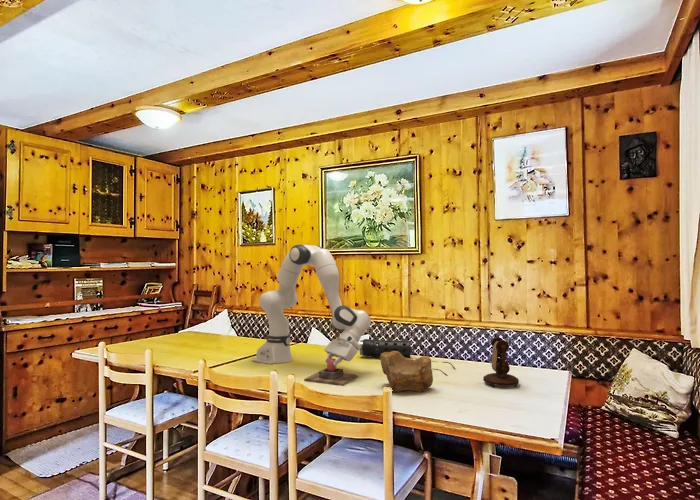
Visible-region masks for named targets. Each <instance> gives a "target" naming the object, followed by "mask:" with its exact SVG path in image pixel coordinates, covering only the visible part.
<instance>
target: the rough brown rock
mask: <svg viewBox="0 0 700 500" xmlns="http://www.w3.org/2000/svg"><path fill="white" fill-rule="evenodd" d="M379 359H380V365H381V370H382V373H383V374H384V375H385V376H386V379H387V381H388V383H389V384H388V385H389V388H390V387H391V388H392V390H393V392H392V393H398V392H403V391H407V390H408V391H414V392H418V393H422V392H423V393H424V391H427V390H428V389H430V388H431V387H432V385H433V382H434V377H433V368H432V362H431V361H432V359H431V357H430V356H427V355H422V356H420V357H418V358H416V359H413V358H405V357H403V356H402V354H401V353H400V352H398V351H391V352H384V353H382V354H381V356H380V357H379Z"/></svg>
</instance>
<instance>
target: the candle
mask: <svg viewBox="0 0 700 500" xmlns="http://www.w3.org/2000/svg"><path fill="white" fill-rule="evenodd" d="M326 359H327V358H326ZM335 360H337V358H333V357H331V359H327V363H326V368H327V372H334V373H335V372H336V367H337V366H334V365H333V364H332V363H333V361H335Z"/></svg>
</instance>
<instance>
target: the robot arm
mask: <svg viewBox="0 0 700 500" xmlns="http://www.w3.org/2000/svg"><path fill="white" fill-rule="evenodd" d="M304 266H306V267H307V266H308V267H309V266H311V267H312V266H313V267H314V271H315V273H316V276H317V278H318V281H319V283H320V284H321V287H322V289H323V291H324V293H325V296H326V299H327V302H328V305H329V308H330V311H331V326H332V328H333V330H335V331H337V332H339V333H341V334H340V335H339V336H338V337H336V338H334V339H332V340H331V341H330V342H329V343H328V344H327V345H326V346H325V347H324V352H326V353H327V356H326V359H325V360H324V361H325V363H326V364H327V359H331V358H333V357H335V358H336V360H335V361H333V363H332V364H333V365H334V366H336V367H337V366H338V365H339V364H341V362H343V361H346V362H348V363H349V362H350V361H352V360H353V359H354V357H355V356H356V354H357V353H358V351H360V348H361V346H360V341H361V337H362V336H364V335H365V334H366V332H367V331H368V329H369V327H370V325H371V323H372V319H371V317H370V315H369V314H368V313H367V312H366V311H365V310H363V309H359V310H358V309H354V308H351V307H349V306H348V305H343V303H342V301H341V298H340V291H339V287H340V285H339V284H340V273H339V269H338V266H337V262H336V261H335V259H334V257H333V255H332V253H331V252H330V250H329V249H327V248H324V247H322V246H319V245H314V244H301V243H300V244H295V245H293V246H292V247H291V248H290V250H289V251H288V252H287V253H286V256H284V259H283V261H282V264H281V266H280V268H279V271H278V273H277V277H276V280H277V282H278V283H279V285H278V289H276V290H275V289H274V290H269V291H266V292H264V293H262V294H260V297H259V299H258V302H259V306H260V308H261V309H262V310H263V311H264V312H265V314H266V317H267V320H268V331H269V333H268V335H266V336H265V338H264V340H266V341H265V342H264V343H263V344H262V345H260V346H259V347H258V348H257V349H256V355H255V356H254V357H253V358H252V359H251V361H252V362H257V363H263V364H268V365H274V364H283V363H289V362H291V361H293V357H292V352H291V351H292V350H291V334H290V320H289V319H288V318H287V317H286V316H285V313H284V310H287V309H291V308H292V307H294V306H296V304H297V303H298V295H297V293H296V287H297V284H298V283H297V282H298V280H299V278H300V275H301V272H302V271H303V270H302V269H303V267H304Z"/></svg>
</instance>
